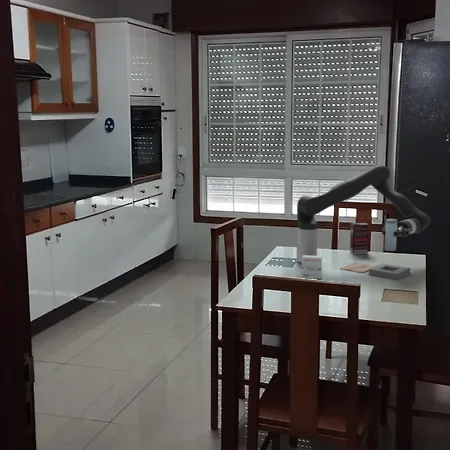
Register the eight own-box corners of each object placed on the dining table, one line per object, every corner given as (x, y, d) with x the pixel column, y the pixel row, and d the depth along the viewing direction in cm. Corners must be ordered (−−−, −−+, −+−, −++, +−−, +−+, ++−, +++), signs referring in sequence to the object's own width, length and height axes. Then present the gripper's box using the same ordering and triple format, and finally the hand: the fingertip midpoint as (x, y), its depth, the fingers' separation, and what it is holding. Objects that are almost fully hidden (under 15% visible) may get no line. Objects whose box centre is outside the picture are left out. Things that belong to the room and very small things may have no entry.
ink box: (321, 281, 279) (322, 255, 277) (321, 284, 275) (321, 257, 272) (302, 280, 281) (302, 254, 279) (301, 283, 276) (301, 257, 274)
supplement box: (364, 251, 336) (365, 222, 333) (368, 253, 331) (369, 224, 328) (349, 252, 335) (350, 223, 332) (352, 254, 330) (353, 224, 327)
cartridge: (382, 249, 289) (384, 220, 286) (387, 247, 292) (388, 218, 290) (392, 251, 285) (394, 221, 283) (397, 249, 289) (399, 219, 286)
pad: (340, 269, 300) (340, 268, 300) (354, 263, 310) (354, 262, 310) (362, 273, 292) (362, 272, 292) (376, 267, 303) (376, 266, 303)
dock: (368, 274, 290) (368, 269, 290) (382, 268, 301) (382, 263, 300) (396, 279, 281) (396, 274, 281) (410, 273, 292) (410, 268, 291)
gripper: (391, 218, 302) (374, 223, 290) (420, 221, 293) (404, 227, 280) (390, 233, 304) (374, 239, 291) (419, 237, 294) (403, 243, 282)
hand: (389, 233), depth 286 cm, fingers closed on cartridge, 5 cm apart
